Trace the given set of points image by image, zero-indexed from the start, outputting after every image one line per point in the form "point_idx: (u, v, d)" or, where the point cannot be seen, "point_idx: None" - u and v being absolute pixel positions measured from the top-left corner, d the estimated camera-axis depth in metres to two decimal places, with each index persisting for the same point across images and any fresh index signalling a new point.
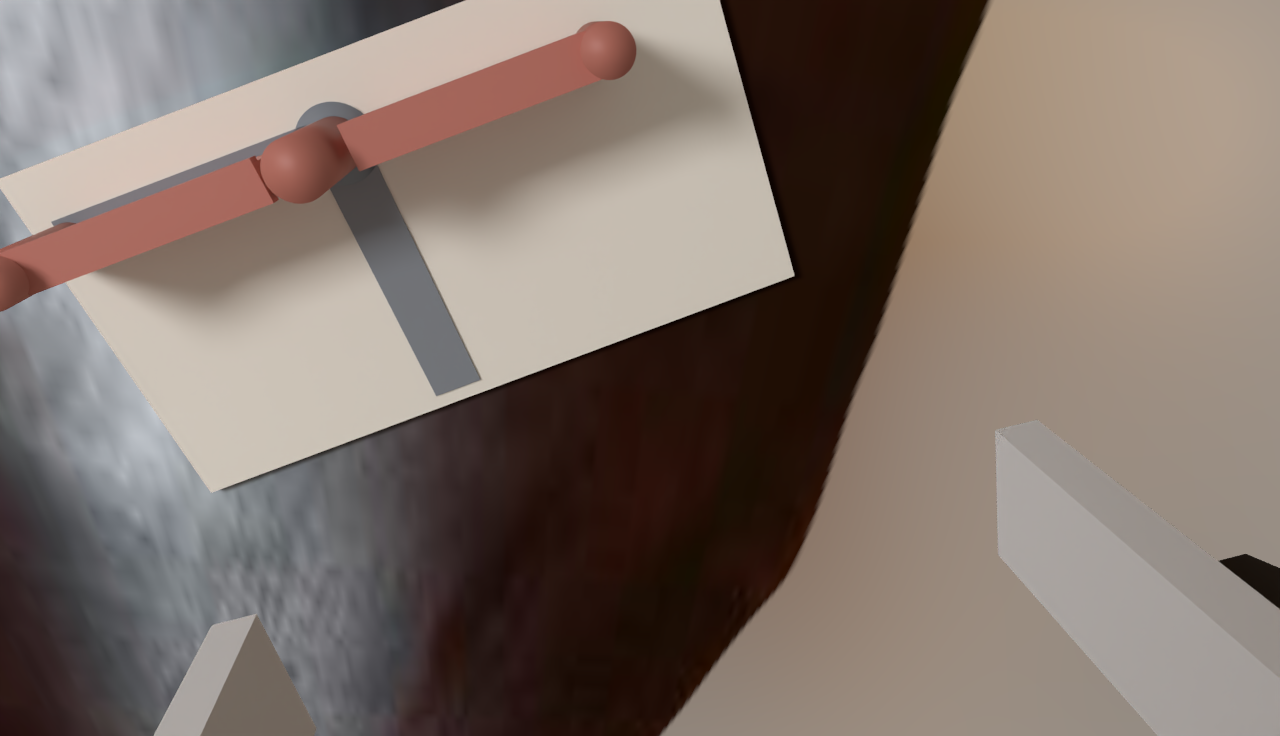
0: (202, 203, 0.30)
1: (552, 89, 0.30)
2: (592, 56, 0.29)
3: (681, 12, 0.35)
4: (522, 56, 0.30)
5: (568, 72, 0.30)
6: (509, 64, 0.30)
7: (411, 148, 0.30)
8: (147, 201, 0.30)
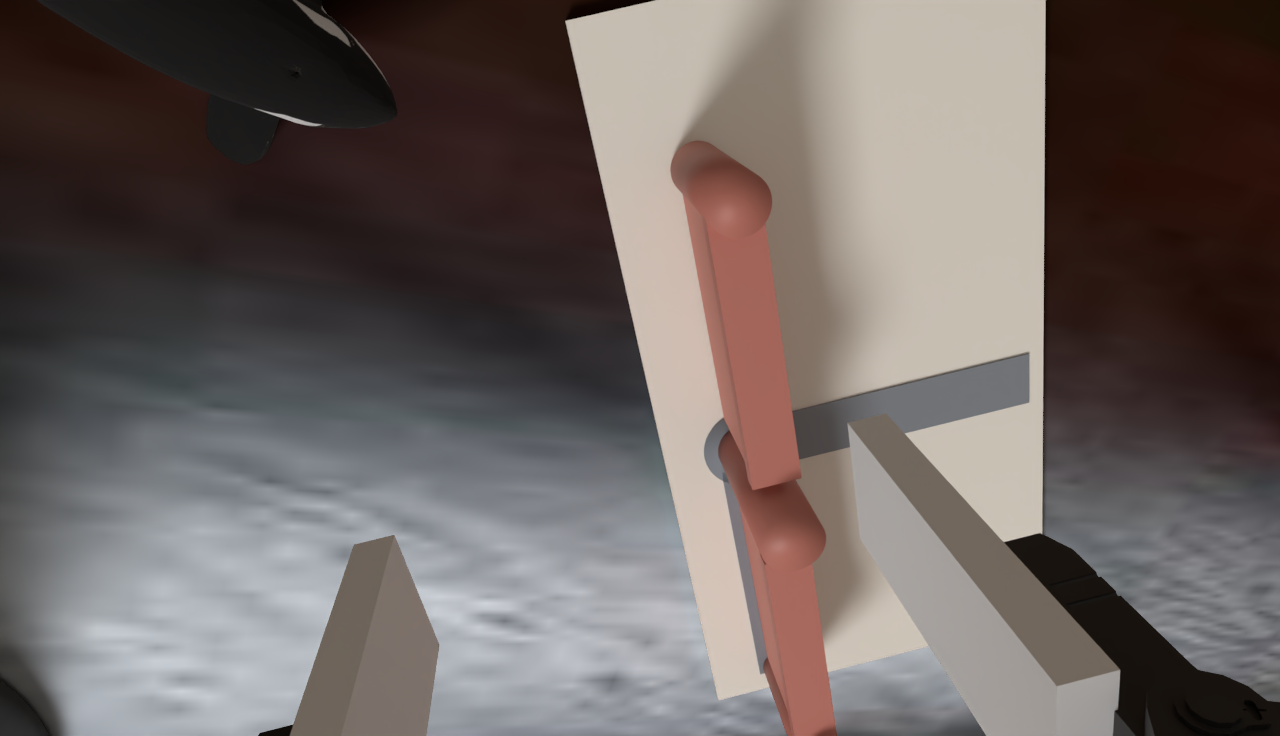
0: (795, 608, 0.31)
1: (762, 269, 0.25)
2: (741, 226, 0.24)
3: (674, 52, 0.28)
4: (721, 298, 0.25)
5: (747, 247, 0.25)
6: (727, 313, 0.26)
7: (791, 426, 0.28)
8: (782, 646, 0.32)
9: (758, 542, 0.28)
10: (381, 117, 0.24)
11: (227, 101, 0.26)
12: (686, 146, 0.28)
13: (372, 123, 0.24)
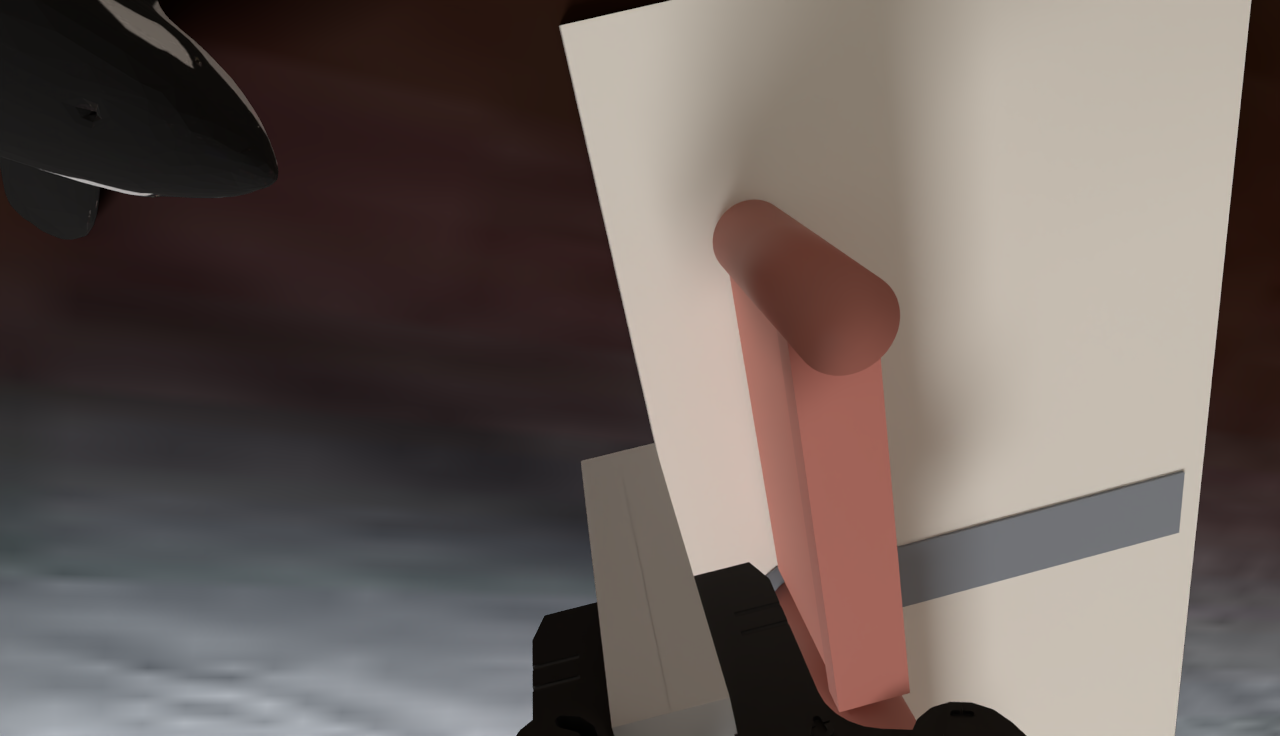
0: None
1: (871, 412, 0.16)
2: (849, 356, 0.15)
3: (721, 72, 0.19)
4: (806, 456, 0.16)
5: (849, 381, 0.16)
6: (813, 476, 0.17)
7: (900, 626, 0.19)
8: None
9: None
10: (250, 183, 0.14)
11: None
12: (738, 209, 0.19)
13: (237, 191, 0.15)
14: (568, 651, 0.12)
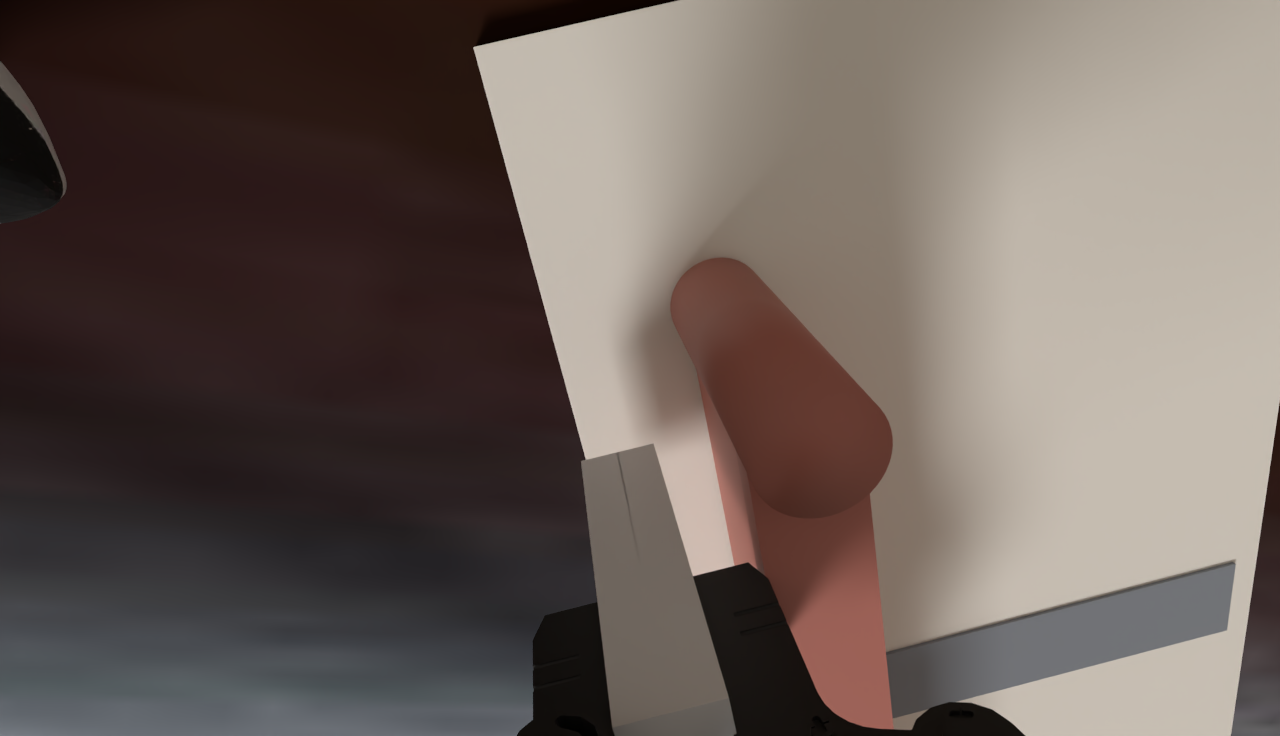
0: None
1: (857, 549, 0.13)
2: (824, 495, 0.11)
3: (677, 103, 0.15)
4: None
5: None
6: None
7: None
8: None
9: None
10: (17, 205, 0.11)
11: None
12: (699, 271, 0.16)
13: (6, 216, 0.11)
14: (568, 651, 0.12)
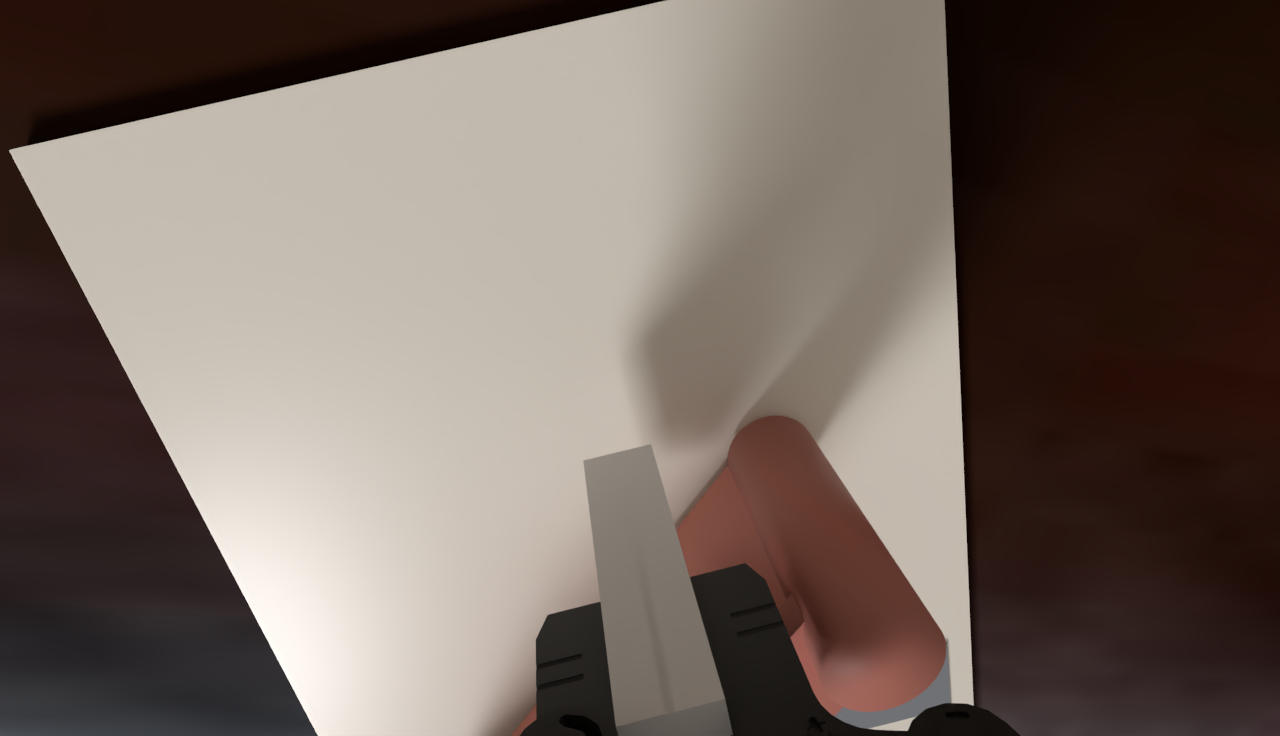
0: None
1: None
2: (855, 690, 0.12)
3: (244, 202, 0.15)
4: None
5: None
6: None
7: None
8: None
9: None
10: None
11: None
12: (792, 426, 0.17)
13: None
14: (571, 650, 0.12)
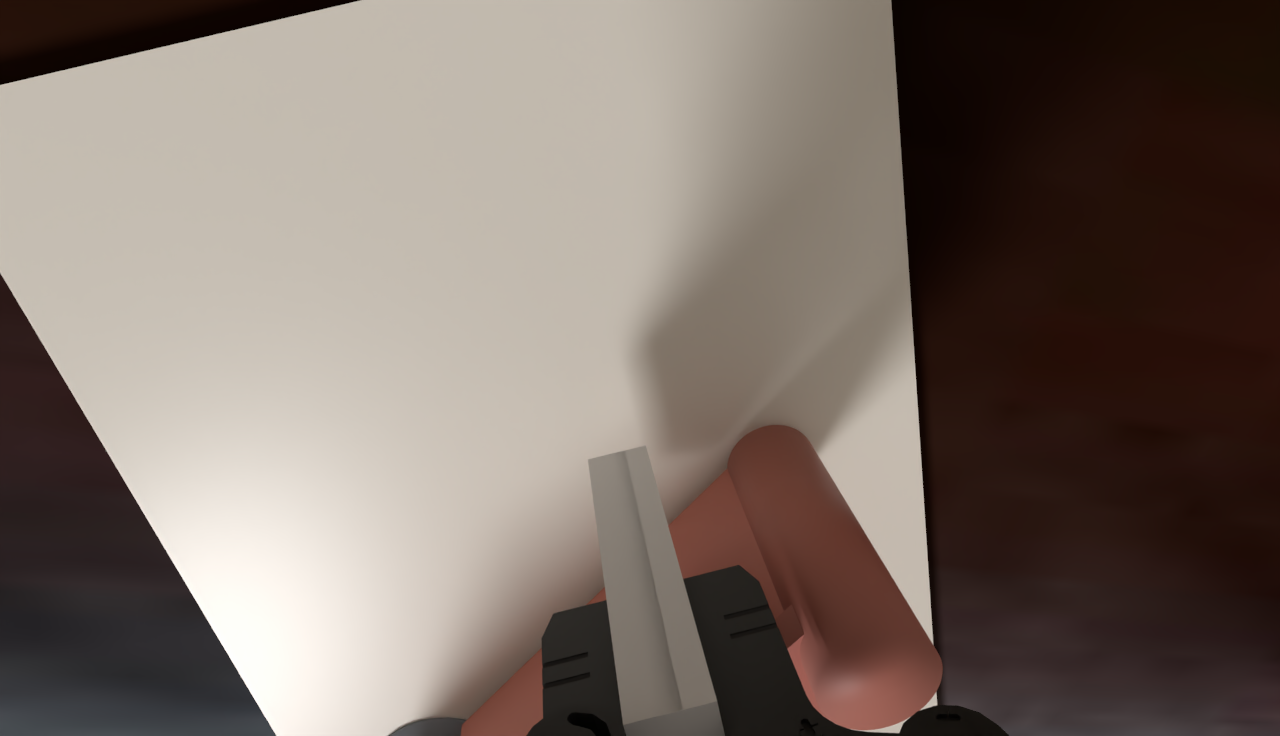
0: None
1: None
2: (848, 707, 0.12)
3: (153, 163, 0.14)
4: None
5: None
6: None
7: None
8: None
9: None
10: None
11: None
12: (797, 437, 0.17)
13: None
14: (577, 649, 0.12)
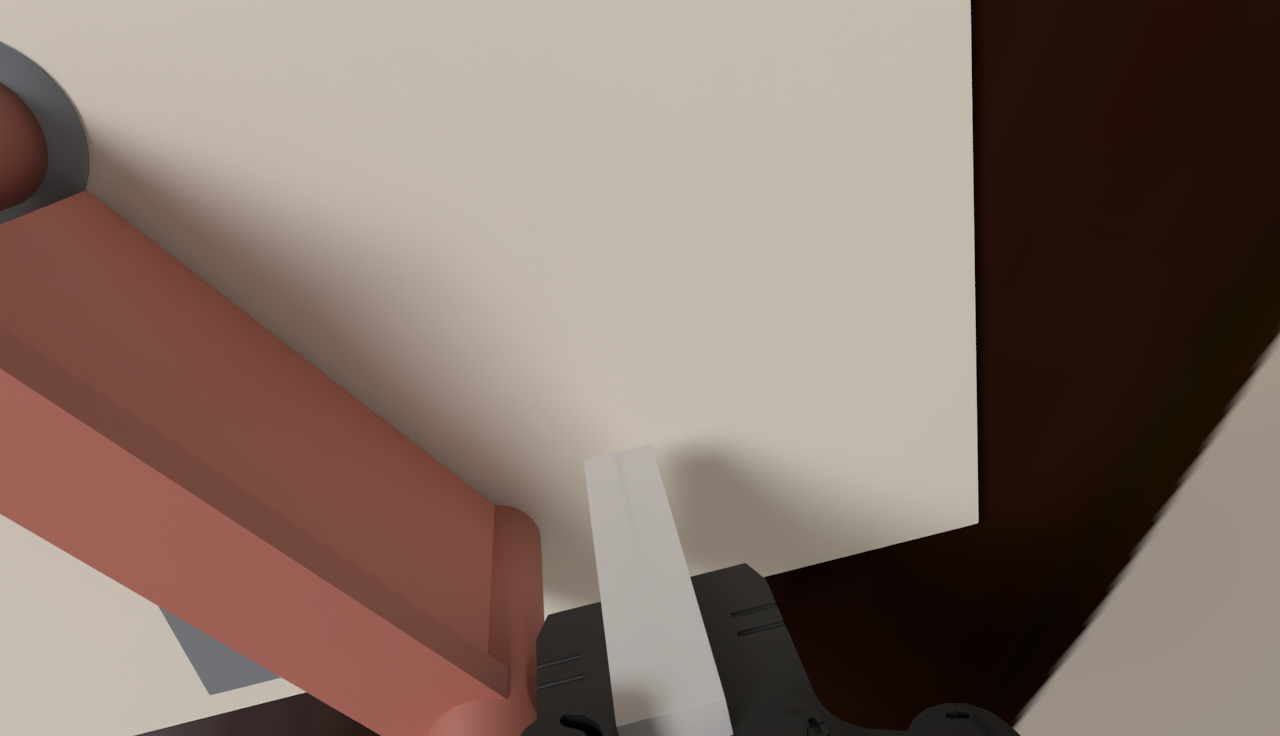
0: None
1: (343, 695, 0.12)
2: None
3: None
4: (374, 618, 0.12)
5: (401, 703, 0.13)
6: (340, 601, 0.12)
7: None
8: None
9: None
10: None
11: None
12: None
13: None
14: (572, 650, 0.12)
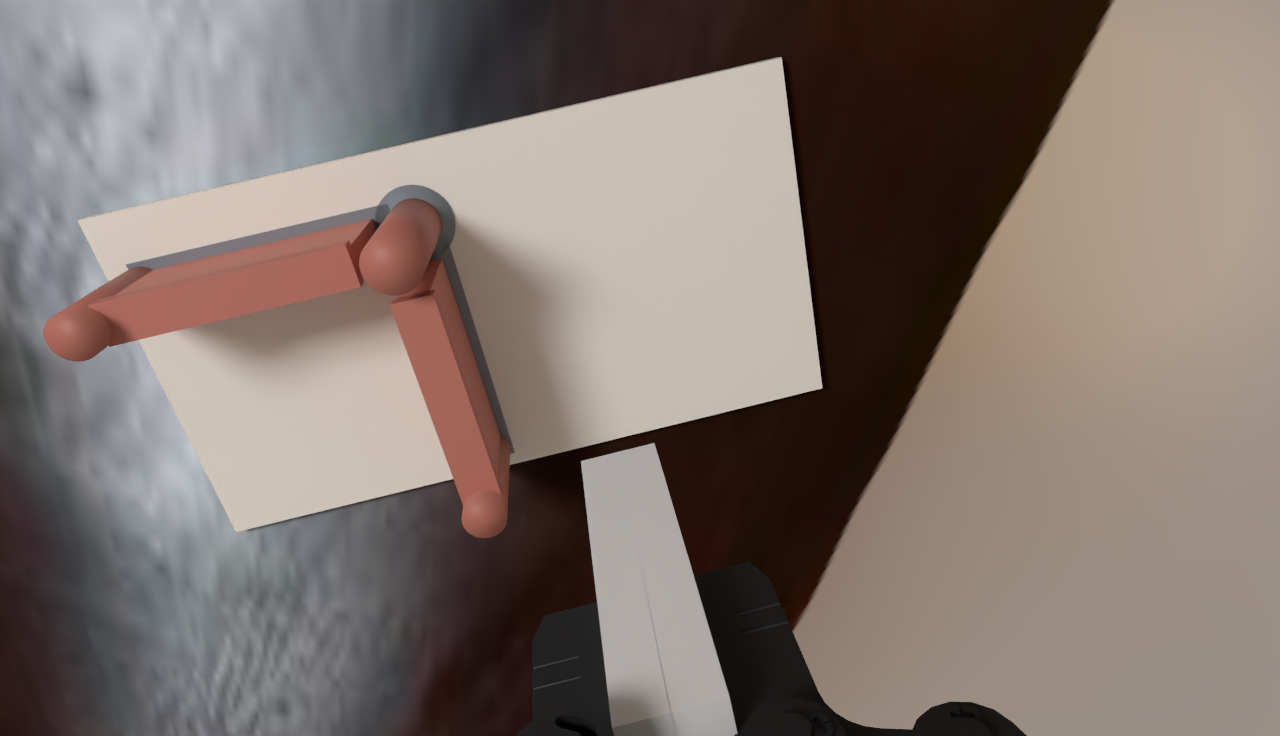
0: (292, 280, 0.32)
1: (456, 468, 0.36)
2: (480, 507, 0.36)
3: (755, 143, 0.37)
4: (484, 448, 0.35)
5: (469, 480, 0.36)
6: (478, 438, 0.35)
7: (409, 352, 0.33)
8: (240, 272, 0.31)
9: (388, 233, 0.30)
10: None
11: None
12: None
13: None
14: (568, 651, 0.12)
